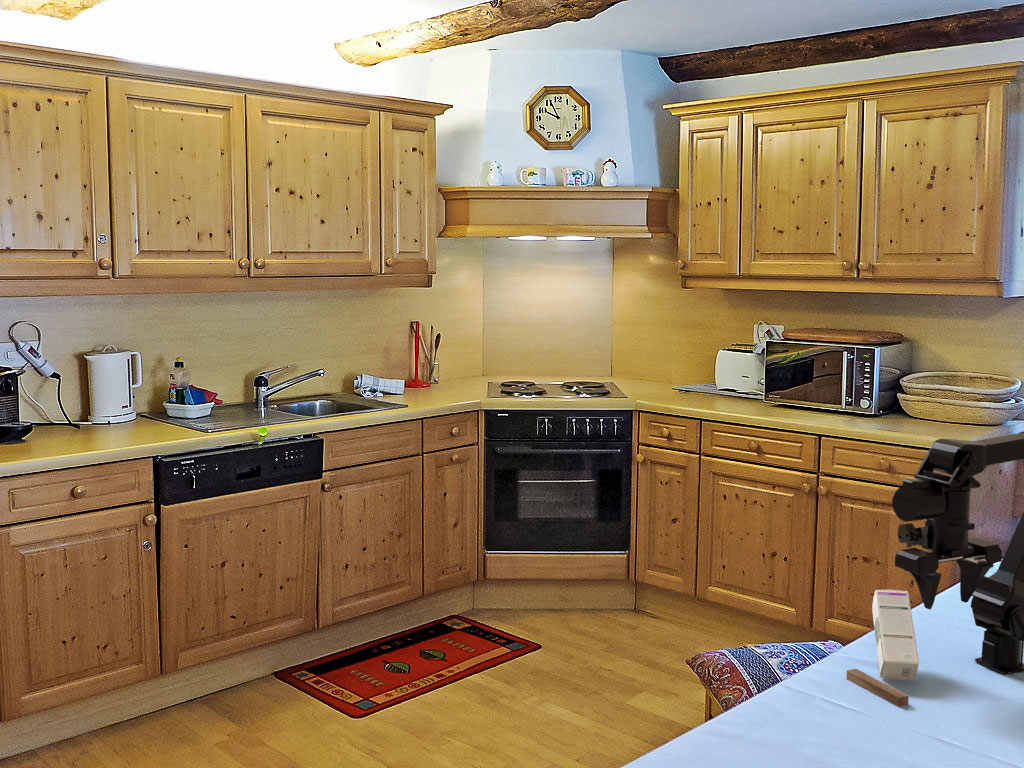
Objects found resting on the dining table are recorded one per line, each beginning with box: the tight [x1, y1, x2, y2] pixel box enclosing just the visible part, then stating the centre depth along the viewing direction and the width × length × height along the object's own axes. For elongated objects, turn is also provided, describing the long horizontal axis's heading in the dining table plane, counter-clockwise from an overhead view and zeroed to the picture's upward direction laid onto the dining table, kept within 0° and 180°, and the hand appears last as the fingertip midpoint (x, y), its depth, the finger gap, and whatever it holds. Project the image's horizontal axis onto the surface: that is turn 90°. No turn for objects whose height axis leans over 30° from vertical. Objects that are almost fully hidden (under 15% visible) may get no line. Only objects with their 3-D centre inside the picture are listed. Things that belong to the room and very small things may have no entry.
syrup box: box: [871, 589, 920, 682], centre depth 179 cm, size 6×6×14 cm
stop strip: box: [845, 668, 910, 708], centre depth 171 cm, size 2×12×2 cm, turn 23°
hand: (946, 605), depth 175 cm, fingers open, 8 cm apart
